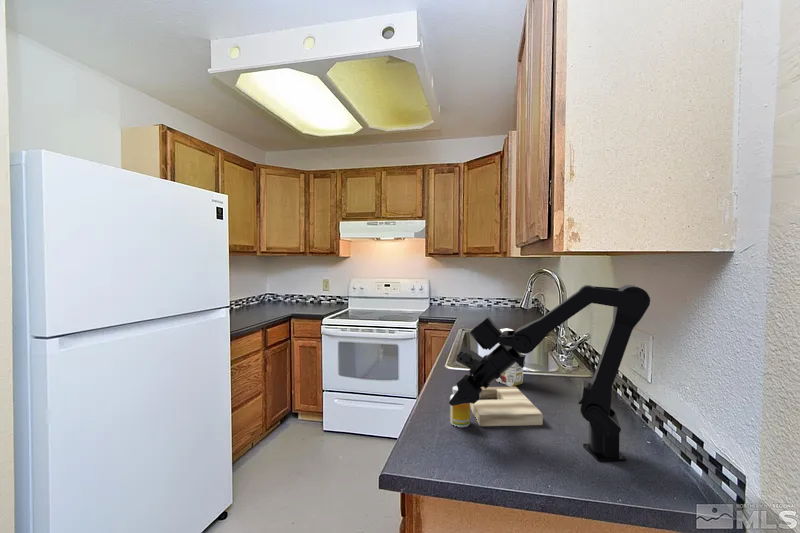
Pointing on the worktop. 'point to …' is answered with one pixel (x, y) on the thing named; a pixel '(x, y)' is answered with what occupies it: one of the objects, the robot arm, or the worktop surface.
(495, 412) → the socket board
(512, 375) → the juice carton
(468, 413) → the supplement bottle
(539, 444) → the worktop surface
